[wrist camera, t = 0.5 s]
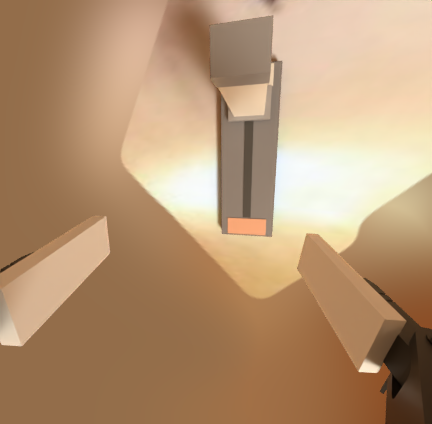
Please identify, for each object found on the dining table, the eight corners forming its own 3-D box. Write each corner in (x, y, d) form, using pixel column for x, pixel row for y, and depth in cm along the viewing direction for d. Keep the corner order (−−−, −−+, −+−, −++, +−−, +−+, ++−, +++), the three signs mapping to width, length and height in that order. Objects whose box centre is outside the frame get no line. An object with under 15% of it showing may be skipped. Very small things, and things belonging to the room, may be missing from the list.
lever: (229, 90, 27) (199, 19, 14) (271, 86, 26) (285, 6, 13) (229, 122, 28) (201, 85, 15) (269, 119, 27) (280, 77, 14)
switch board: (222, 72, 29) (220, 67, 27) (281, 66, 27) (282, 60, 26) (223, 230, 35) (221, 233, 33) (271, 233, 33) (271, 237, 31)
